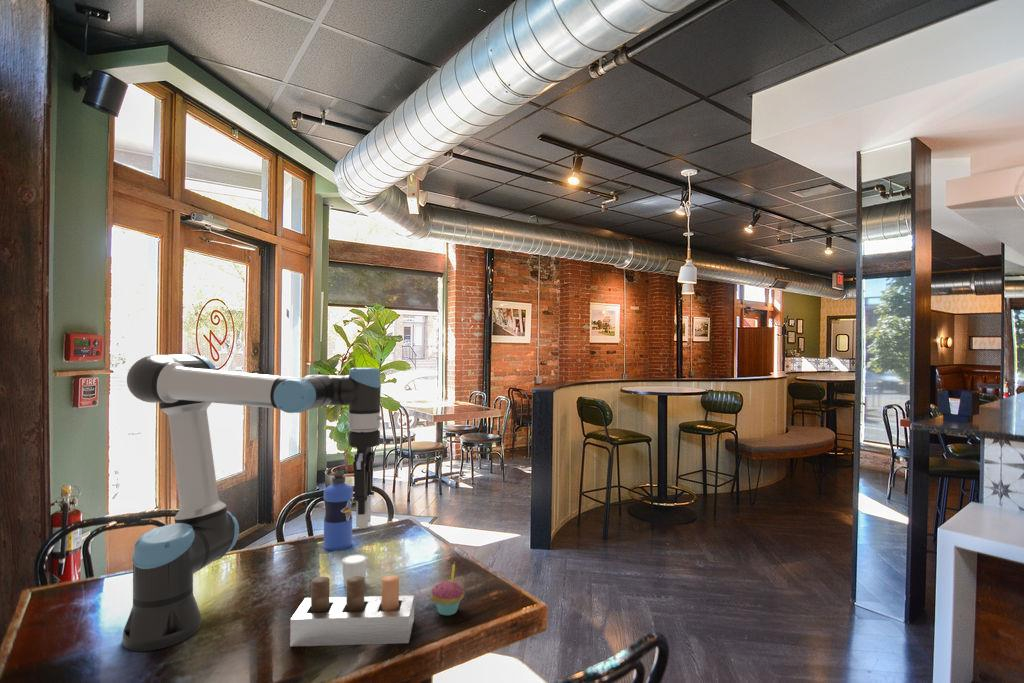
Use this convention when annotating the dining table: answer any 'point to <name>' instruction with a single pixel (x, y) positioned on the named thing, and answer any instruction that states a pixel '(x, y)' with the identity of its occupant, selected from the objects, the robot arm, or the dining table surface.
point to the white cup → (354, 566)
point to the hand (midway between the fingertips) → (363, 524)
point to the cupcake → (448, 595)
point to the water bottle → (338, 513)
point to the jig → (352, 623)
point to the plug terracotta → (390, 593)
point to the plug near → (320, 595)
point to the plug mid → (355, 594)
